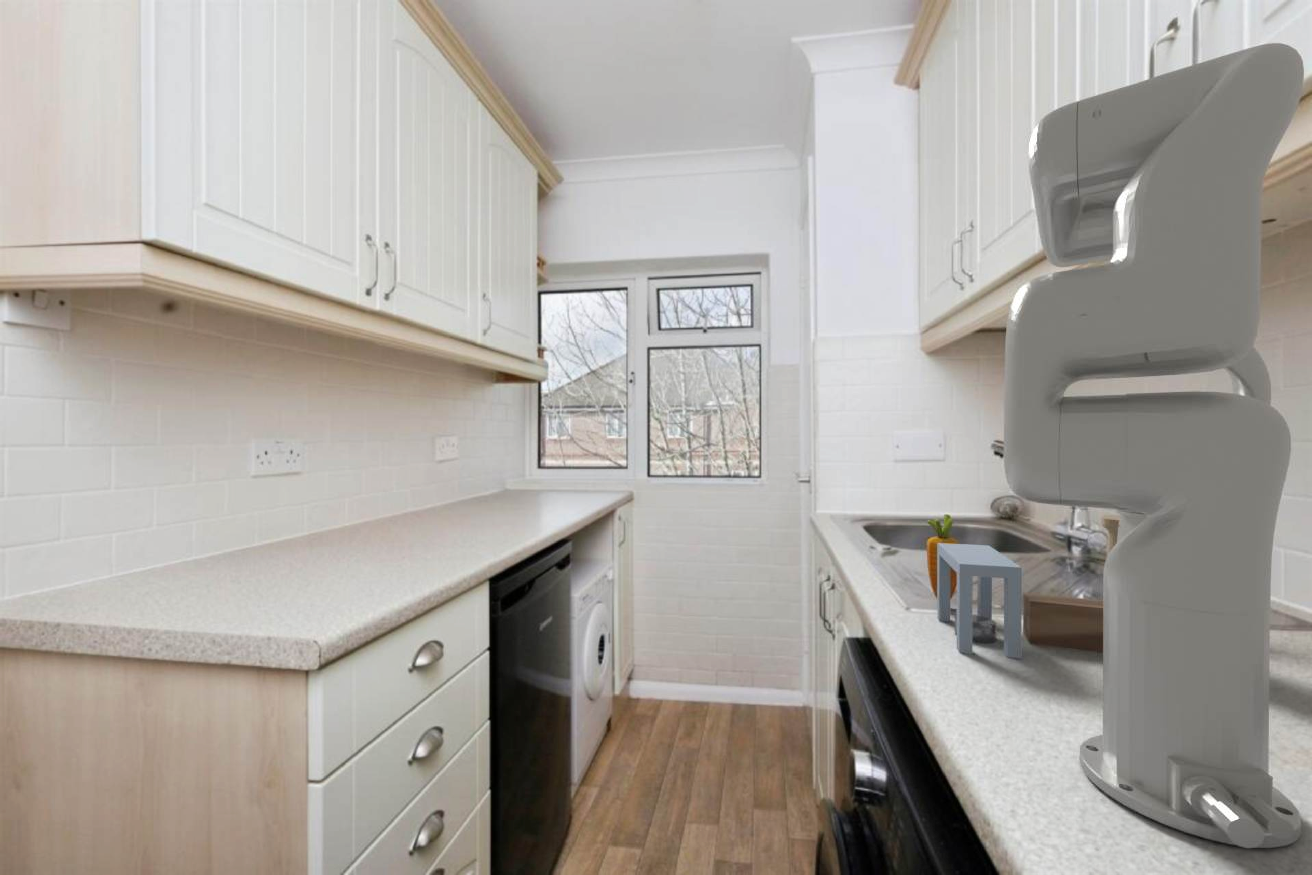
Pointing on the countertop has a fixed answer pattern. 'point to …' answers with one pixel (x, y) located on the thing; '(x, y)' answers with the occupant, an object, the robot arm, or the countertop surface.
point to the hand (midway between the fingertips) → (1153, 636)
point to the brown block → (1063, 622)
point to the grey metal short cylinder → (981, 629)
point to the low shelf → (979, 591)
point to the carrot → (932, 553)
